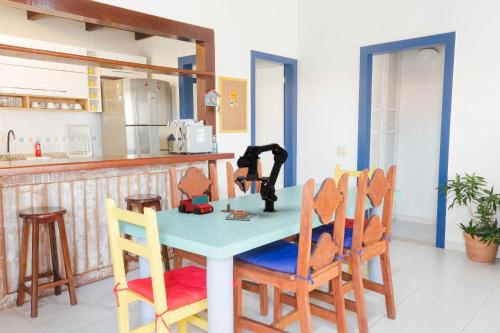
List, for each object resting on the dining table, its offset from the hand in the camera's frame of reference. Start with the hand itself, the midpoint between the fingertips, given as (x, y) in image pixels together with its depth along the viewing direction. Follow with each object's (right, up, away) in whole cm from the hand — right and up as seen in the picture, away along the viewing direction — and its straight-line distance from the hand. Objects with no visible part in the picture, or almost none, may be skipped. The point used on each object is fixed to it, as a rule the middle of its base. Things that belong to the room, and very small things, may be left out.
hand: (252, 193), depth 228 cm
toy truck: (-34, -12, +5) cm, 36 cm away
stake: (-14, -12, +5) cm, 19 cm away
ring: (-7, -12, -9) cm, 17 cm away
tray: (-7, -13, -9) cm, 17 cm away
